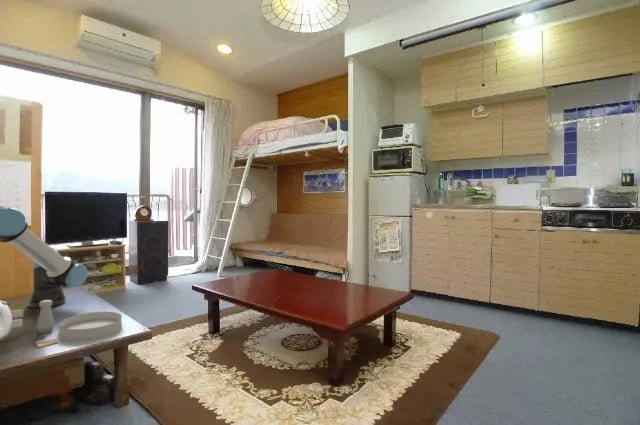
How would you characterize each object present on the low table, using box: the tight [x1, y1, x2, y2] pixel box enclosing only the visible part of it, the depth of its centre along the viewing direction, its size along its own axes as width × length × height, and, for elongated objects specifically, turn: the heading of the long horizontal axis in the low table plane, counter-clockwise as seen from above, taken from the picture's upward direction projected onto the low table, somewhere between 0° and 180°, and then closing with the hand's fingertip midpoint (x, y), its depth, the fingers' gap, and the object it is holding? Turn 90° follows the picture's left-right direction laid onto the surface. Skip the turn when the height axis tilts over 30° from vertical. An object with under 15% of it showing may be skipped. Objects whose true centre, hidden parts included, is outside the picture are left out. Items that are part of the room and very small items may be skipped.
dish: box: [58, 311, 123, 342], centre depth 143 cm, size 22×22×5 cm
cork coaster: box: [34, 337, 59, 349], centre depth 129 cm, size 6×6×1 cm
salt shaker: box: [35, 300, 55, 334], centre depth 140 cm, size 6×6×13 cm
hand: (23, 317), depth 135 cm, fingers open, 13 cm apart
